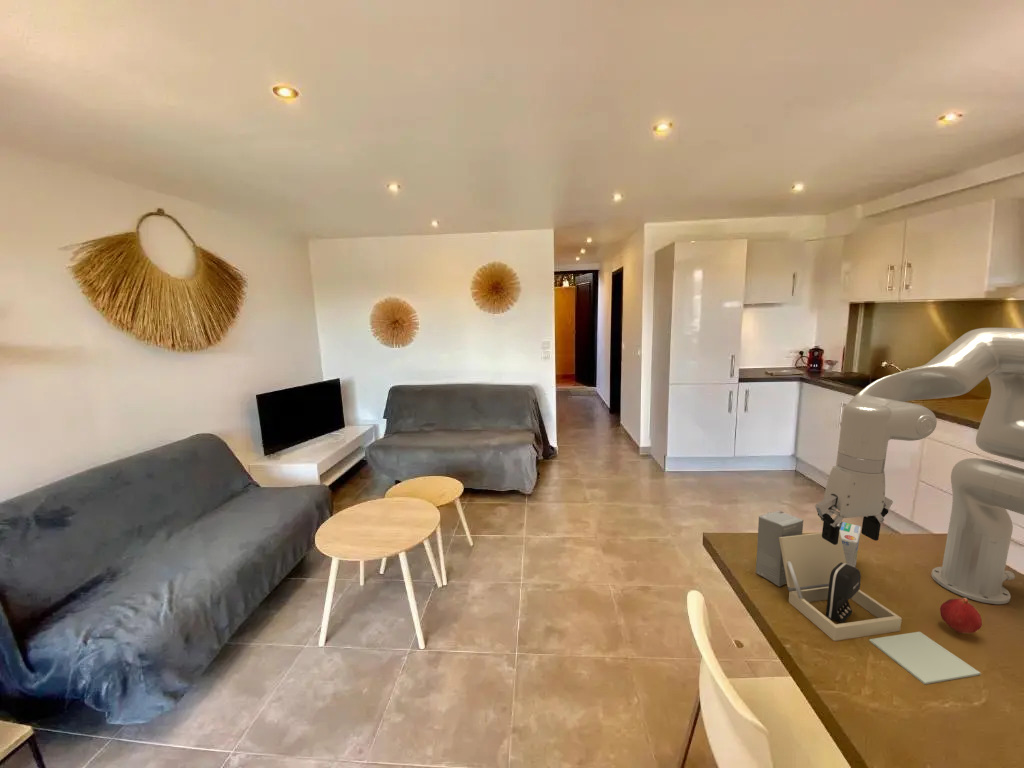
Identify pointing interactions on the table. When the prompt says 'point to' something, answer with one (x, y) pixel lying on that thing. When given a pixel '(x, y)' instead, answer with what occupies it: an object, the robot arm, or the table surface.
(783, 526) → the skincare box
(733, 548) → the table surface
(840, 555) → the case
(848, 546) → the light bulb box
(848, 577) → the battery charger
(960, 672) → the mat
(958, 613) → the red fruit
